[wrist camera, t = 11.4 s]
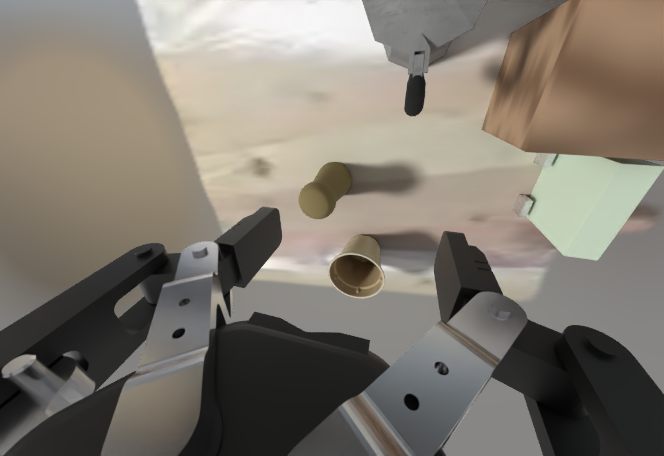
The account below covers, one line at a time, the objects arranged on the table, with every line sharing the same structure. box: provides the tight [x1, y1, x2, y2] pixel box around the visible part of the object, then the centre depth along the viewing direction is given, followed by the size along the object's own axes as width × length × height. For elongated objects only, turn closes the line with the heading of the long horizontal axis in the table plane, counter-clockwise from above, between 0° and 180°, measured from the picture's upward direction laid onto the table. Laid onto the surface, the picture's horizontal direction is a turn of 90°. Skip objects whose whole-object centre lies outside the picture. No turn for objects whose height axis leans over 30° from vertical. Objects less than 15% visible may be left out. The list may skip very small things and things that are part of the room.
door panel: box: [526, 154, 664, 260], centre depth 27 cm, size 10×4×11 cm, turn 179°
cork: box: [299, 162, 352, 219], centre depth 36 cm, size 6×6×11 cm
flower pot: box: [328, 235, 385, 298], centre depth 42 cm, size 9×9×9 cm
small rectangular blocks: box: [513, 153, 556, 218], centre depth 31 cm, size 9×6×2 cm, turn 179°
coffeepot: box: [362, 0, 487, 116], centre depth 21 cm, size 15×9×18 cm, turn 3°
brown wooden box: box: [482, 0, 664, 161], centre depth 21 cm, size 10×11×14 cm
